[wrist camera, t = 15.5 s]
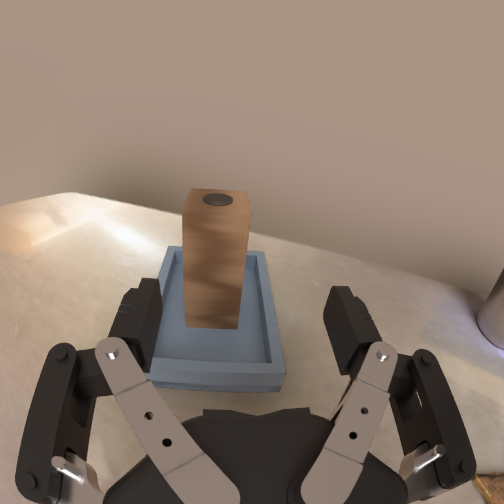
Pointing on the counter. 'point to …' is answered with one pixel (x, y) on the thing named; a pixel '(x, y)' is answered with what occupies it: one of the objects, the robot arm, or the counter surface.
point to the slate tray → (218, 337)
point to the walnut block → (214, 256)
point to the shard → (491, 487)
